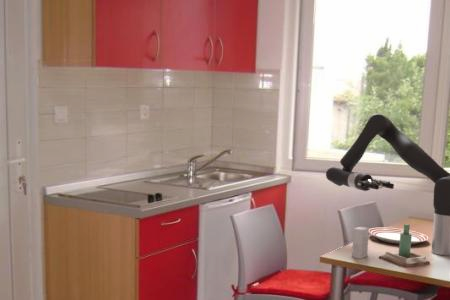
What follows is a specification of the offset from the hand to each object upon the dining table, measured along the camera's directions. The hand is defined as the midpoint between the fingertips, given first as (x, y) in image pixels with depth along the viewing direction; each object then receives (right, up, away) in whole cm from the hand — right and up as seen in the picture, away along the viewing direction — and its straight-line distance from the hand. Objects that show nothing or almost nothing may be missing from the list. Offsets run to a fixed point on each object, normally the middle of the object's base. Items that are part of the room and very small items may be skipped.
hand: (385, 186), depth 256 cm
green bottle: (+4, -28, -13) cm, 32 cm away
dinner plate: (+12, -27, +26) cm, 39 cm away
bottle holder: (+4, -29, -13) cm, 32 cm away
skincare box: (-13, -29, -9) cm, 33 cm away
